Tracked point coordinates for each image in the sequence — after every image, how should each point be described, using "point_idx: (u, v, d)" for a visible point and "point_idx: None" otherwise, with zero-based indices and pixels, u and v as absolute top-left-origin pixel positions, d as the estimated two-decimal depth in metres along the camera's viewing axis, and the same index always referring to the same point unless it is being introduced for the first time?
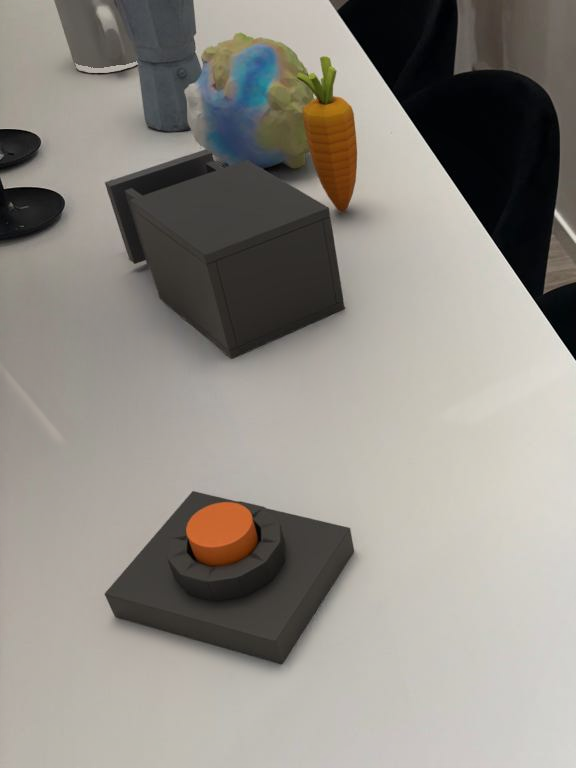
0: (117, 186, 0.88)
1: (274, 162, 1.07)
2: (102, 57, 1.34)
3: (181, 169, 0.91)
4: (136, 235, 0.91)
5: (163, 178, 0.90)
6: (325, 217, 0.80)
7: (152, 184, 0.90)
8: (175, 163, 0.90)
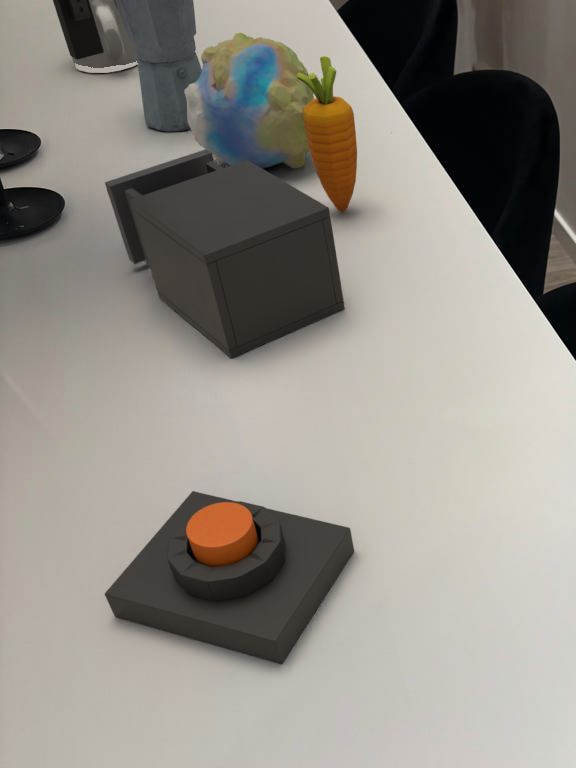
0: (117, 186, 0.88)
1: (274, 162, 1.07)
2: (102, 57, 1.34)
3: (181, 169, 0.91)
4: (136, 235, 0.91)
5: (163, 178, 0.90)
6: (325, 217, 0.80)
7: (152, 184, 0.90)
8: (175, 163, 0.90)
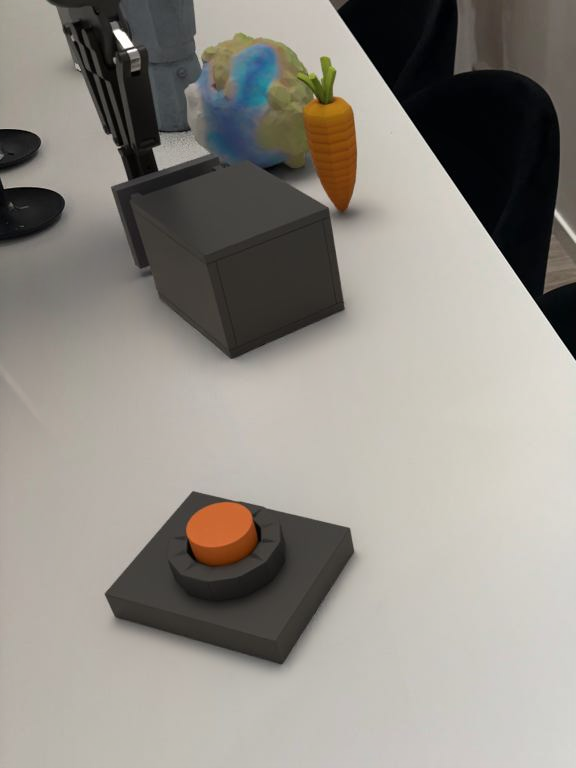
0: (123, 190, 0.87)
1: (274, 162, 1.07)
2: None
3: (187, 173, 0.90)
4: None
5: (169, 182, 0.89)
6: (325, 217, 0.80)
7: (158, 188, 0.89)
8: (182, 167, 0.89)
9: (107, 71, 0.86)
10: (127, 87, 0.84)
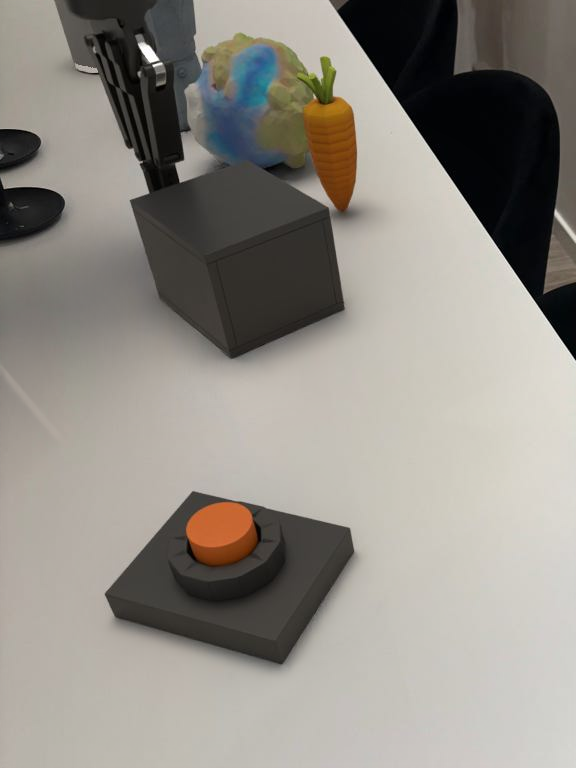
0: None
1: (274, 162, 1.07)
2: None
3: None
4: None
5: None
6: (325, 217, 0.80)
7: None
8: None
9: (131, 85, 0.83)
10: (151, 102, 0.82)
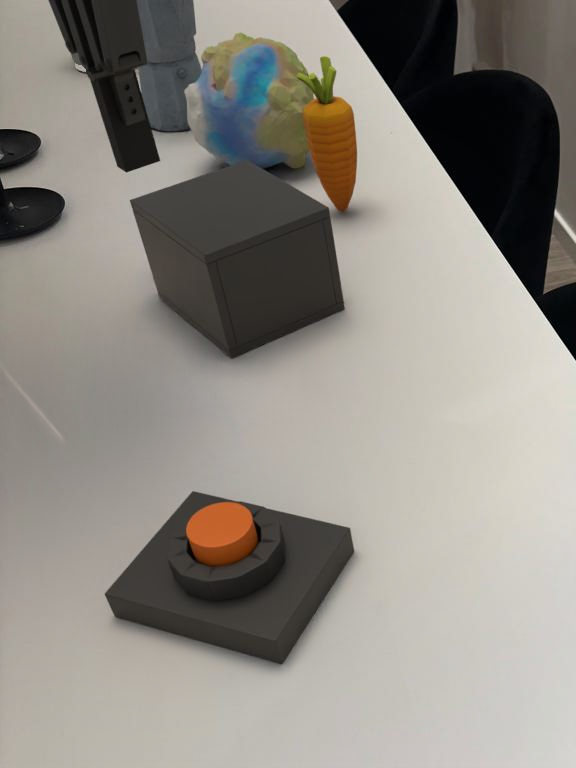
0: None
1: (274, 162, 1.07)
2: None
3: None
4: None
5: None
6: (325, 217, 0.80)
7: None
8: None
9: None
10: None
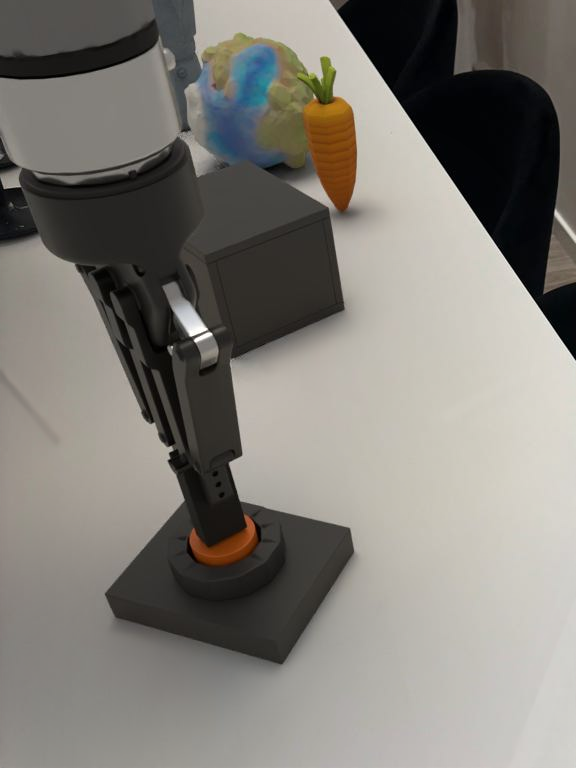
0: None
1: (274, 162, 1.07)
2: None
3: None
4: None
5: None
6: (325, 217, 0.80)
7: None
8: None
9: (155, 355, 0.48)
10: (191, 392, 0.46)
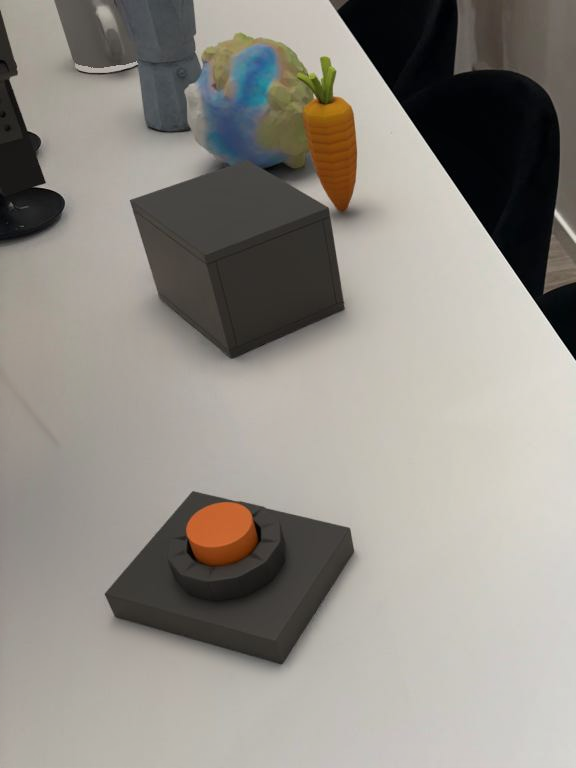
0: None
1: (274, 162, 1.07)
2: (102, 57, 1.34)
3: None
4: None
5: None
6: (325, 217, 0.80)
7: None
8: None
9: None
10: None
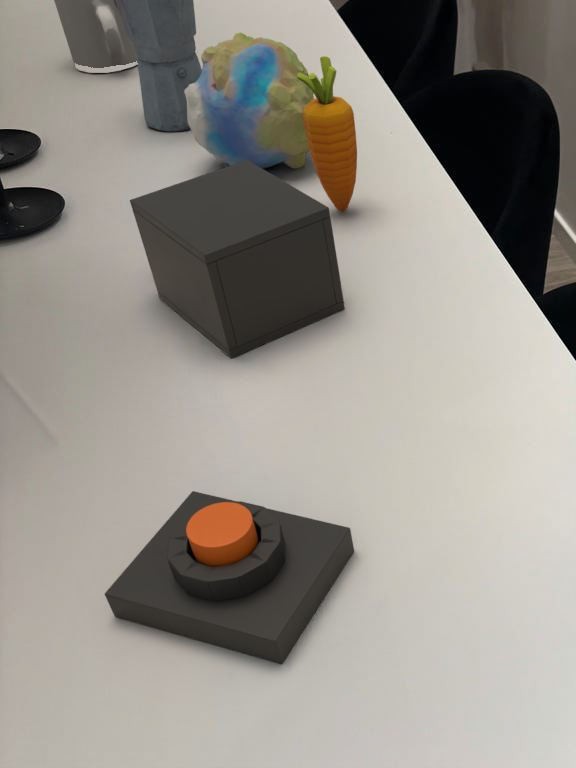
0: None
1: (274, 162, 1.07)
2: (102, 57, 1.34)
3: None
4: None
5: None
6: (325, 217, 0.80)
7: None
8: None
9: None
10: None
